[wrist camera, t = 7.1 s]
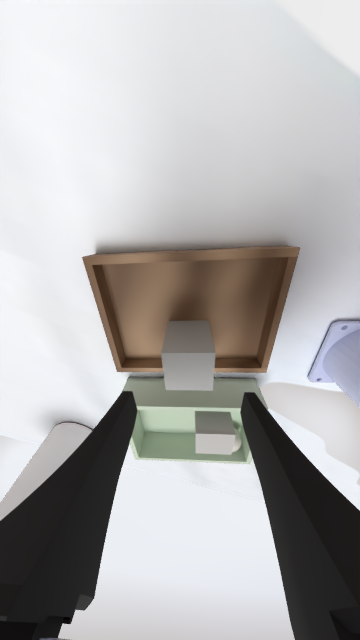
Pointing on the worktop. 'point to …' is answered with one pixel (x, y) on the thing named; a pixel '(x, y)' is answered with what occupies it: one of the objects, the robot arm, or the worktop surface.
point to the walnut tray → (192, 302)
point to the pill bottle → (44, 463)
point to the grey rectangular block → (214, 432)
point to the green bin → (184, 418)
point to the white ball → (237, 440)
